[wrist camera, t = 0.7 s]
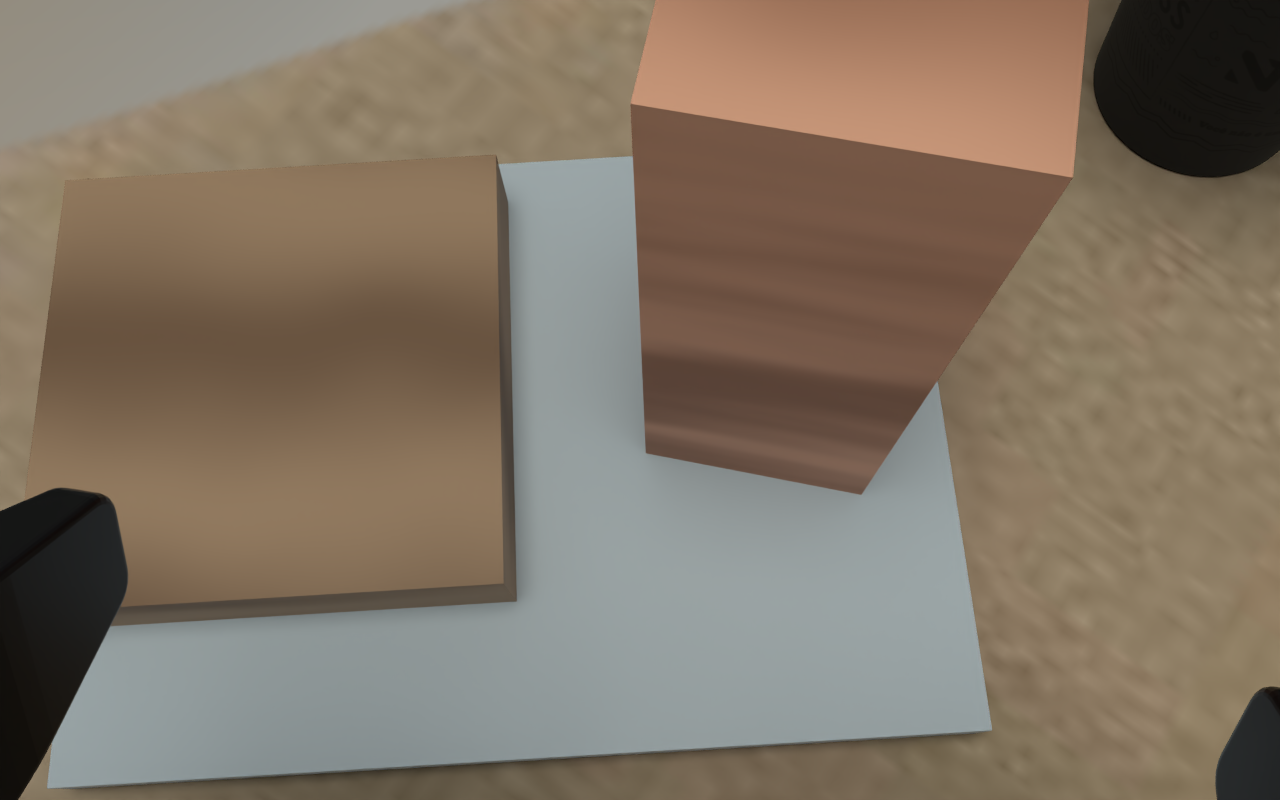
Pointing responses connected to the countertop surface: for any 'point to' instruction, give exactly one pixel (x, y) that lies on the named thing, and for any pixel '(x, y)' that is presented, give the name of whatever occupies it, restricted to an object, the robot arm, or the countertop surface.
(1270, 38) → the drinking cup
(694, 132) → the terracotta pillar
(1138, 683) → the countertop surface
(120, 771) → the board
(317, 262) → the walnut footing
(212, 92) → the countertop surface
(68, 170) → the countertop surface
